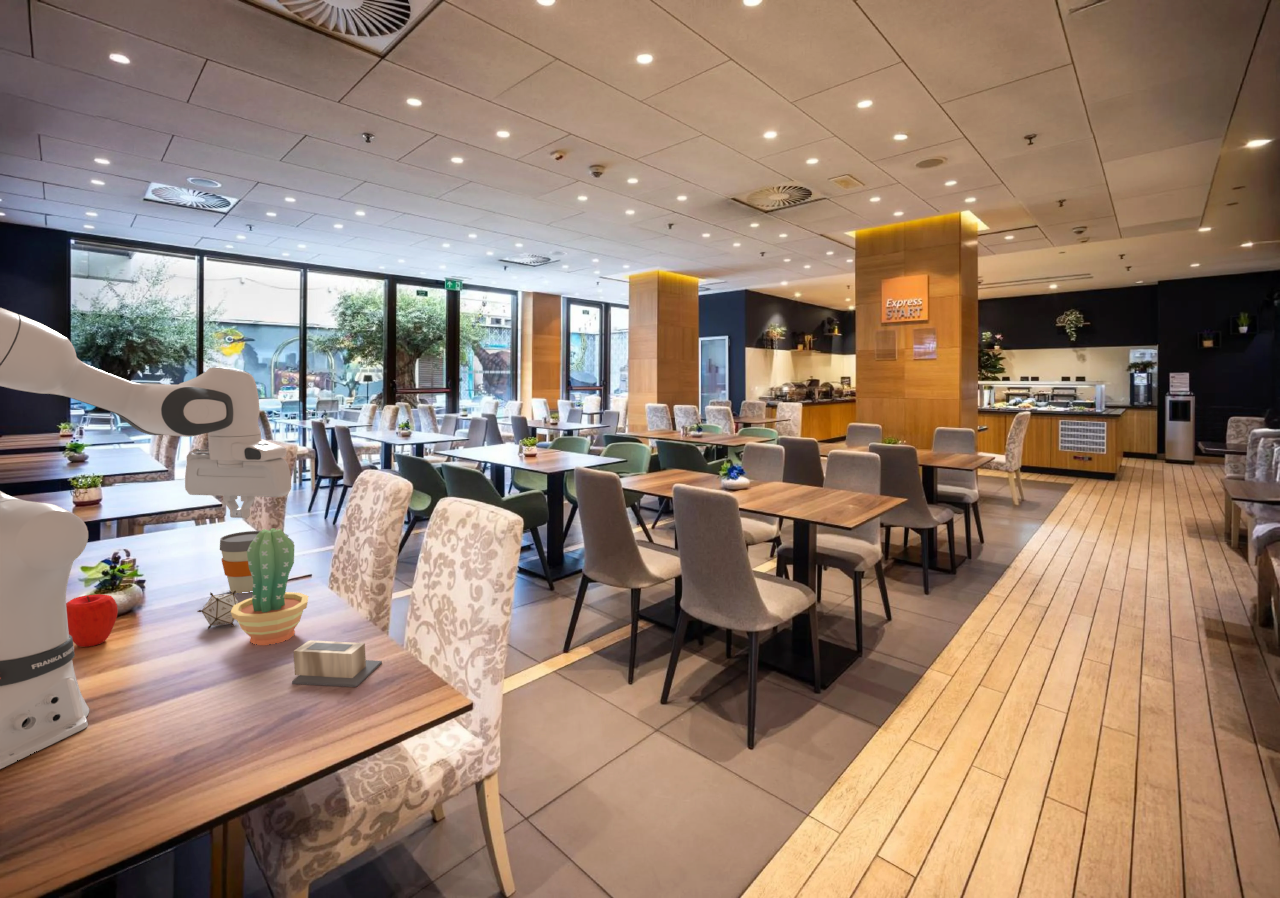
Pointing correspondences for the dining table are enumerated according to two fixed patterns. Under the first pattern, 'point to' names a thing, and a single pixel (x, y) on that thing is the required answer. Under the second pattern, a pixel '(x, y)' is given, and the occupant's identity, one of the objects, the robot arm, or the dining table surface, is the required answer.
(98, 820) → the dining table surface
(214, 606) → the game die
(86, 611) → the apple
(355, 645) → the birch block
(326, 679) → the mat
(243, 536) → the reusable coffee cup
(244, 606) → the potted cactus
